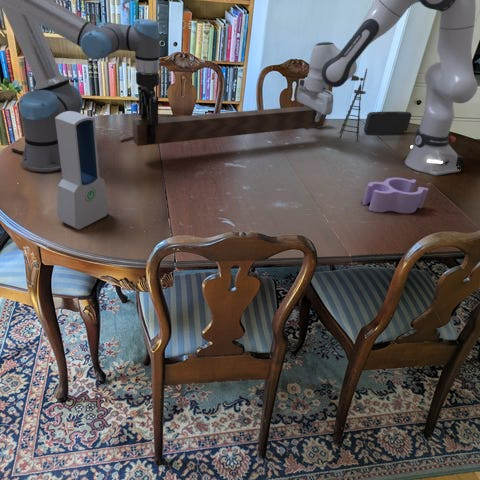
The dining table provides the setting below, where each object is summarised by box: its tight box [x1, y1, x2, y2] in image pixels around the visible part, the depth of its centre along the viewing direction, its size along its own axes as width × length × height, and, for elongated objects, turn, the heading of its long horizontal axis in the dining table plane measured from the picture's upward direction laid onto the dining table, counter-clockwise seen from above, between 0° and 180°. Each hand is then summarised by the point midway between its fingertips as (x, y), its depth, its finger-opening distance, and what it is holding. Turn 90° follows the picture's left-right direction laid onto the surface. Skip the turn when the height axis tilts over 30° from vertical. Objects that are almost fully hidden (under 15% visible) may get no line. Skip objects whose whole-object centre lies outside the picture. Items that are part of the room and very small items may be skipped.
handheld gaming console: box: [363, 110, 413, 135], centre depth 217 cm, size 23×3×10 cm, turn 108°
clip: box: [362, 177, 429, 214], centre depth 156 cm, size 20×12×7 cm, turn 109°
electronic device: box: [55, 111, 110, 231], centre depth 124 cm, size 12×8×30 cm, turn 148°
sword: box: [120, 136, 133, 142], centre depth 190 cm, size 31×3×1 cm, turn 126°
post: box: [132, 105, 326, 147], centre depth 178 cm, size 80×5×8 cm, turn 119°
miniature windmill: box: [339, 68, 368, 142], centre depth 203 cm, size 9×8×30 cm
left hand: (148, 140), depth 164 cm, fingers closed on post, 5 cm apart
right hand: (311, 118), depth 194 cm, fingers closed on post, 5 cm apart
